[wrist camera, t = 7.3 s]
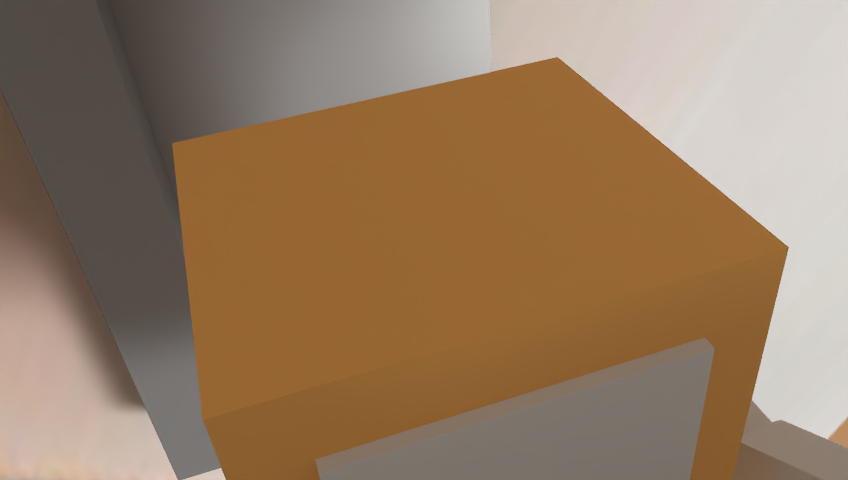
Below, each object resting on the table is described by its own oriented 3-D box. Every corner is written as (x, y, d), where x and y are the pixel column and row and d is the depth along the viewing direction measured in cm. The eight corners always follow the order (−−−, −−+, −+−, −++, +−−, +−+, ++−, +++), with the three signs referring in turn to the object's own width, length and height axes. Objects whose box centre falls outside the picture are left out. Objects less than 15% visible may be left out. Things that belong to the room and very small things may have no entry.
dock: (-86, -197, 13) (-143, -165, 10) (474, -268, 15) (557, -257, 12) (173, 414, 22) (181, 518, 19) (496, 320, 24) (545, 403, 21)
